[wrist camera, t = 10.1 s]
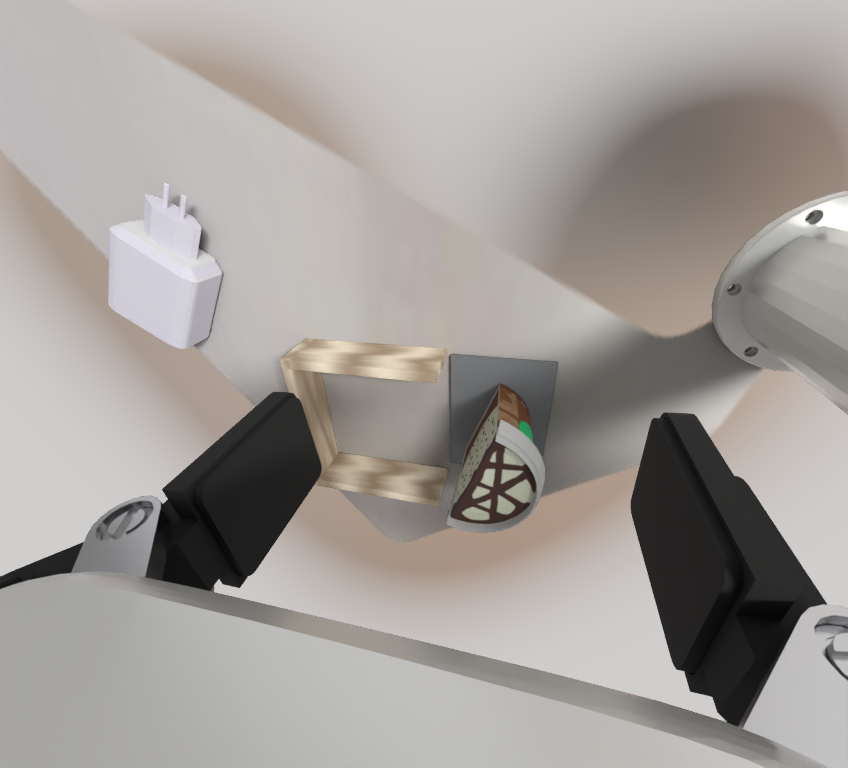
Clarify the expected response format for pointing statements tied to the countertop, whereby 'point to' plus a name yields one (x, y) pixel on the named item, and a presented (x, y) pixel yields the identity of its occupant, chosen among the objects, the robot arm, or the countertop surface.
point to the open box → (308, 386)
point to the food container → (498, 469)
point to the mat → (478, 385)
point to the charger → (163, 273)
